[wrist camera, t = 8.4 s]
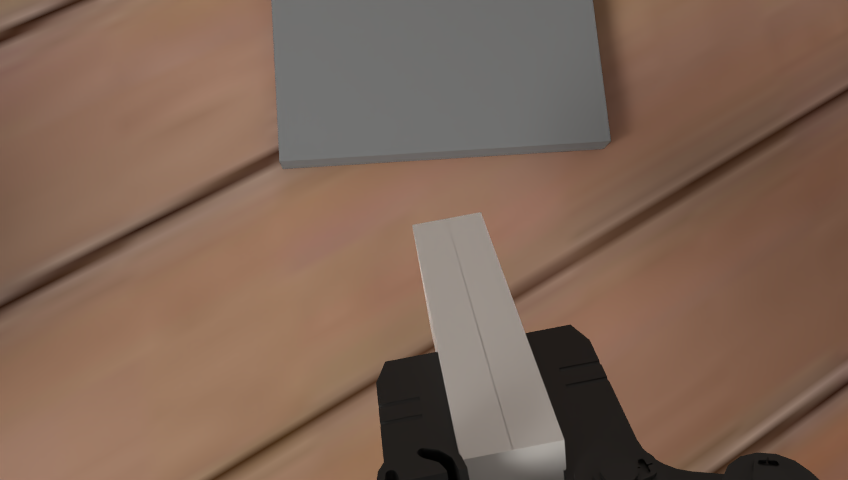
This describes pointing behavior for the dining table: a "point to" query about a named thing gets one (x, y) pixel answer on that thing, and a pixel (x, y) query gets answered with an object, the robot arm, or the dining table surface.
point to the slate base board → (435, 79)
